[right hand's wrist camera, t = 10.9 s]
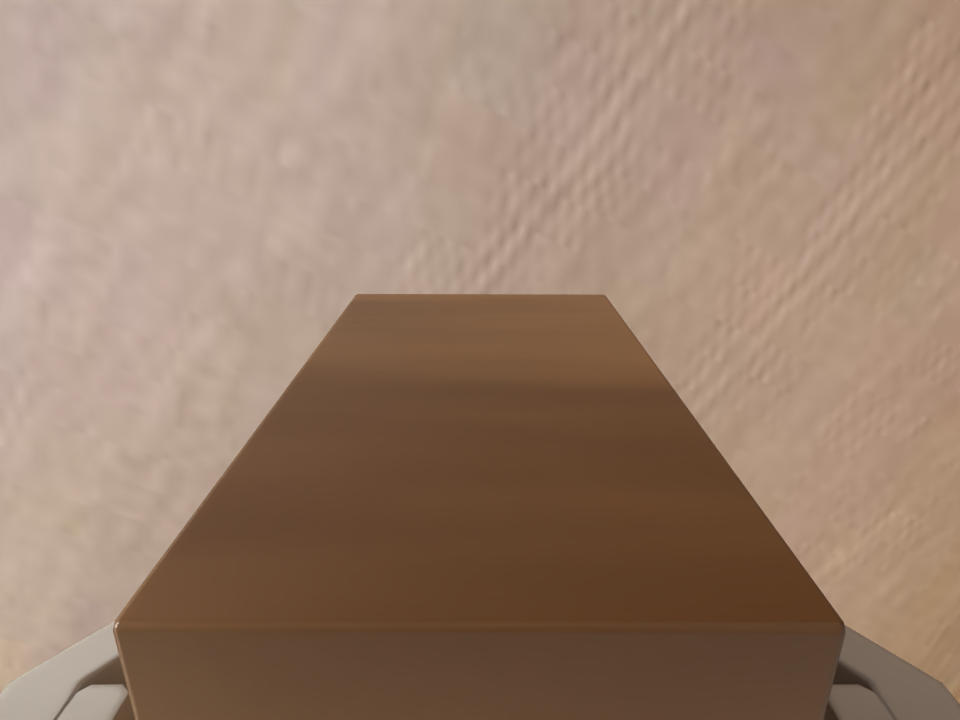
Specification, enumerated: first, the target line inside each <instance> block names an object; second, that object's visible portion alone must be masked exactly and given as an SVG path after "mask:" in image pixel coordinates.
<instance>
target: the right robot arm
mask: <svg viewBox="0 0 960 720" xmlns="http://www.w3.org/2000/svg"><path fill="white" fill-rule="evenodd" d="M114 623H115V621H114V622H112V623H110V624H109V625H107V626H105V627H103V628H102V629H100V630H98V631H97V632H95V633H93V634H92V635H90V636H88V637H86V638H85V639H83V640H81V641H80V642H78V643H76V644H74V645H73V646H71V647H69V648H68V649H66V650H64V651H63V652H61V653H59V654H57V655H56V656H54V657H52V658H51V659H49V660H47V661H45V662H44V663H42V664H40V665H39V666H37V667H35V668H34V669H32V670H30V671H28V672H27V673H25V674H23V675H22V676H20V677H18V678H16V679H15V680H13V681H11V682H10V684H9V685H8V686H7V687H6V688H5V689H4V691H3V692H2V693H1V694H0V720H135V716H134V712H133V708H132V704H131V701H130V697H129V693H128V689H127V685H126V681H125V677H124V673H123V669H122V665H121V661H120V657H119V653H118V650H117V646H116V642H115V638H114V634H113V627H114ZM844 626H845V631H846V634H845V638H844V642H843V646H842V650H841V654H840V657H839V661H838V665H837V669H836V673H835V677H834V681H833V685H832V689H831V692H830V696H829V700H828V704H827V708H826V712H825V716H824V720H960V704H959V703H958V702H957V700H956V699H955V698H954V697H953V696H952V694H951V693H950V692H949V691H948V690H947V688H946V687H945V686H944V685H943V683H942V682H940V681H938V680H936V679H935V678H933V677H931V676H930V675H928V674H926V673H925V672H923V671H921V670H920V669H918V668H916V667H915V666H913V665H911V664H910V663H908V662H906V661H904V660H903V659H901V658H899V657H898V656H896V655H894V654H893V653H891V652H889V651H888V650H886V649H884V648H883V647H881V646H879V645H878V644H876V643H874V642H872V641H871V640H869V639H867V638H866V637H864V636H862V635H861V634H859V633H857V632H856V631H854V630H852V629H851V628H849V627H847V626H846V625H844Z"/></svg>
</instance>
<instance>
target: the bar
mask: <svg viewBox="0 0 960 720" xmlns="http://www.w3.org/2000/svg"><path fill="white" fill-rule="evenodd" d="M113 634H114V638H115V642H116V646H117V650H118V653H119V657H120V661H121V665H122V669H123V673H124V677H125V681H126V685H127V689H128V693H129V697H130V701H131V704H132V708H133V712H134V716H135V720H824V716H825V712H826V708H827V704H828V700H829V696H830V692H831V689H832V685H833V681H834V677H835V673H836V669H837V665H838V661H839V657H840V654H841V650H842V646H843V642H844V638H845V634H846V631H845V626H844V622H843V621H842V619H841V618H840V617H839V615H838V614H837V613H836V611H835V610H834V608H833V607H832V606H831V604H830V603H829V602H828V600H827V599H826V597H825V596H824V595H823V593H822V592H821V591H820V589H819V588H818V586H817V585H816V584H815V582H814V581H813V580H812V578H811V577H810V575H809V574H808V573H807V571H806V570H805V569H804V567H803V566H802V565H801V563H800V562H799V560H798V559H797V558H796V556H795V555H794V554H793V552H792V551H791V549H790V548H789V547H788V545H787V544H786V543H785V541H784V540H783V538H782V537H781V536H780V534H779V533H778V532H777V530H776V529H775V527H774V526H773V525H772V523H771V522H770V521H769V519H768V518H767V517H766V515H765V514H764V512H763V511H762V510H761V508H760V507H759V506H758V504H757V503H756V501H755V500H754V499H753V497H752V496H751V495H750V493H749V492H748V490H747V489H746V488H745V486H744V485H743V484H742V482H741V481H740V479H739V478H738V477H737V475H736V474H735V473H734V471H733V470H732V469H731V467H730V466H729V464H728V463H727V462H726V460H725V459H724V458H723V456H722V455H721V453H720V452H719V451H718V449H717V448H716V447H715V445H714V444H713V442H712V441H711V440H710V438H709V437H708V436H707V434H706V433H705V431H704V430H703V429H702V427H701V426H700V425H699V423H698V422H697V421H696V419H695V418H694V416H693V415H692V414H691V412H690V411H689V410H688V408H687V407H686V405H685V404H684V403H683V401H682V400H681V399H680V397H679V396H678V394H677V393H676V392H675V390H674V389H673V388H672V386H671V385H670V383H669V382H668V381H667V379H666V378H665V377H664V375H663V374H662V373H661V371H660V370H659V368H658V367H657V366H656V364H655V363H654V362H653V360H652V359H651V357H650V356H649V355H648V353H647V352H646V351H645V349H644V348H643V346H642V345H641V344H640V342H639V341H638V340H637V338H636V337H635V335H634V334H633V333H632V331H631V330H630V329H629V327H628V326H627V325H626V323H625V322H624V320H623V319H622V318H621V316H620V315H619V314H618V312H617V311H616V309H615V308H614V307H613V305H612V304H611V303H610V301H609V300H608V298H607V297H606V296H605V295H468V294H358V295H356V296H355V297H354V298H353V300H352V301H351V302H350V304H349V305H348V306H347V308H346V309H345V310H344V312H343V313H342V314H341V316H340V317H339V319H338V320H337V321H336V323H335V324H334V325H333V327H332V328H331V329H330V331H329V332H328V333H327V335H326V336H325V337H324V339H323V340H322V341H321V343H320V344H319V346H318V347H317V348H316V350H315V351H314V352H313V354H312V355H311V356H310V358H309V359H308V360H307V362H306V363H305V364H304V366H303V367H302V369H301V370H300V371H299V373H298V374H297V375H296V377H295V378H294V379H293V381H292V382H291V383H290V385H289V386H288V387H287V389H286V390H285V392H284V393H283V394H282V396H281V397H280V398H279V400H278V401H277V402H276V404H275V405H274V406H273V408H272V409H271V410H270V412H269V413H268V414H267V416H266V417H265V419H264V420H263V421H262V423H261V424H260V425H259V427H258V428H257V429H256V431H255V432H254V433H253V435H252V436H251V437H250V439H249V440H248V442H247V443H246V444H245V446H244V447H243V448H242V450H241V451H240V452H239V454H238V455H237V456H236V458H235V459H234V460H233V462H232V463H231V465H230V466H229V467H228V469H227V470H226V471H225V473H224V474H223V475H222V477H221V478H220V479H219V481H218V482H217V483H216V485H215V486H214V487H213V489H212V490H211V492H210V493H209V494H208V496H207V497H206V498H205V500H204V501H203V502H202V504H201V505H200V506H199V508H198V509H197V510H196V512H195V513H194V515H193V516H192V517H191V519H190V520H189V521H188V523H187V524H186V525H185V527H184V528H183V529H182V531H181V532H180V533H179V535H178V536H177V537H176V539H175V540H174V542H173V543H172V544H171V546H170V547H169V548H168V550H167V551H166V552H165V554H164V555H163V556H162V558H161V559H160V560H159V562H158V563H157V565H156V566H155V567H154V569H153V570H152V571H151V573H150V574H149V575H148V577H147V578H146V579H145V581H144V582H143V583H142V585H141V586H140V588H139V589H138V590H137V592H136V593H135V594H134V596H133V597H132V598H131V600H130V601H129V602H128V604H127V605H126V606H125V608H124V609H123V610H122V612H121V613H120V615H119V616H118V617H117V619H116V620H115V623H114V627H113Z"/></svg>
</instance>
